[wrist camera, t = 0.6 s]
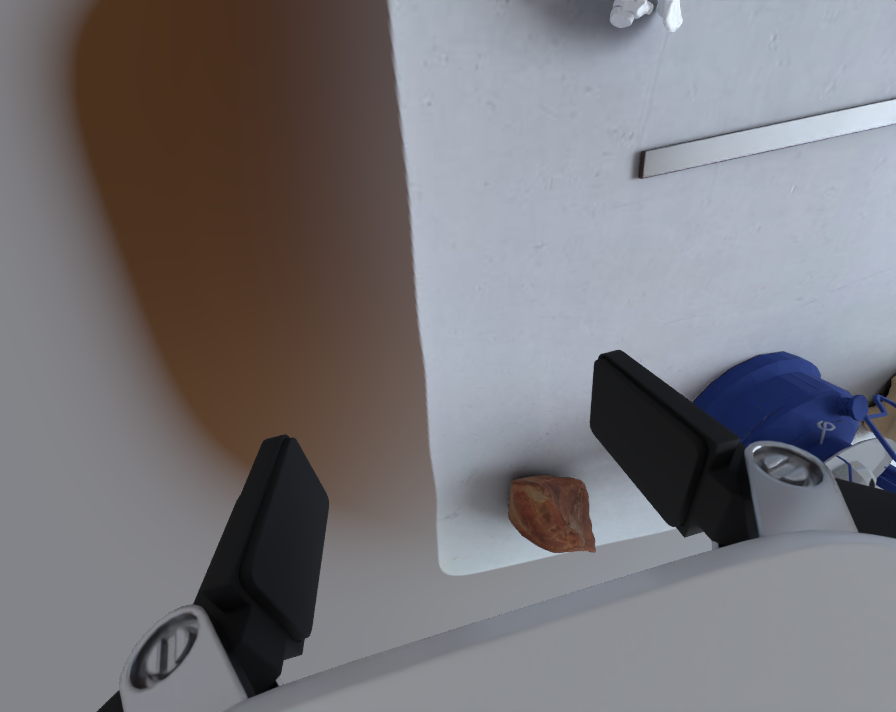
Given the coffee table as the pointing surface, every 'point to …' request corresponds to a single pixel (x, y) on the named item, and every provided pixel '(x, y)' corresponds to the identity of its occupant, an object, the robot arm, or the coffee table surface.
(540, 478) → the fossil
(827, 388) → the lantern
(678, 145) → the ruler
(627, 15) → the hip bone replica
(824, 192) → the coffee table surface
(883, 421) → the container
